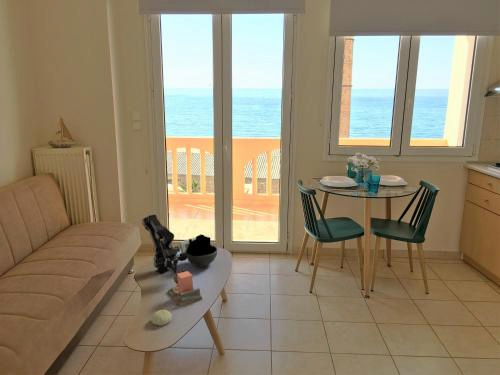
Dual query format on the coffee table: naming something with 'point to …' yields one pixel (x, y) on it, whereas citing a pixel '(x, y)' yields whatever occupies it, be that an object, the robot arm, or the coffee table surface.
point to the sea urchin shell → (161, 317)
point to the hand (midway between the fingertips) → (175, 273)
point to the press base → (185, 296)
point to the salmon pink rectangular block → (184, 282)
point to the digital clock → (185, 245)
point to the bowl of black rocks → (201, 251)
